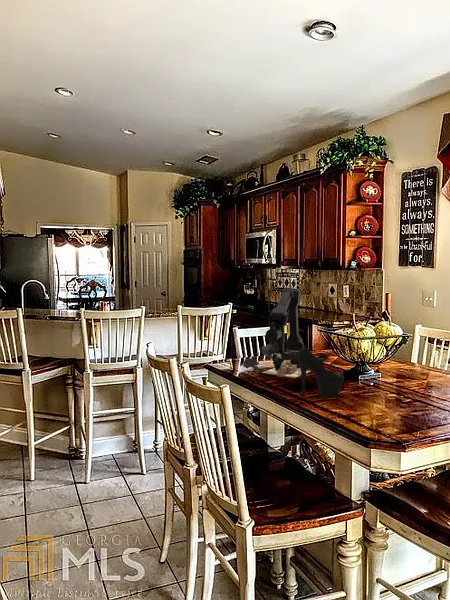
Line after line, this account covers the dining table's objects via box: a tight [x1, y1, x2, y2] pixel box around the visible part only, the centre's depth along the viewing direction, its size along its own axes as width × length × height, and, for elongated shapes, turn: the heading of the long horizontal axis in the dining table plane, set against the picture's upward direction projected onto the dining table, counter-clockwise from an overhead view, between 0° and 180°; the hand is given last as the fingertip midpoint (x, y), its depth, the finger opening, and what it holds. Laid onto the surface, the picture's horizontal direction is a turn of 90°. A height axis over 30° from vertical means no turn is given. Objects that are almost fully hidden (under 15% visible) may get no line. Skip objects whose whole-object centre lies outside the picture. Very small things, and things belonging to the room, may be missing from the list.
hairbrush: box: [243, 356, 261, 372], centre depth 253 cm, size 8×4×25 cm
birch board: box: [261, 367, 312, 379], centre depth 240 cm, size 16×18×1 cm
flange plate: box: [276, 363, 298, 377], centre depth 236 cm, size 14×7×3 cm, turn 153°
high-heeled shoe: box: [297, 346, 345, 398], centre depth 203 cm, size 8×19×20 cm, turn 94°
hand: (277, 371), depth 234 cm, fingers closed
